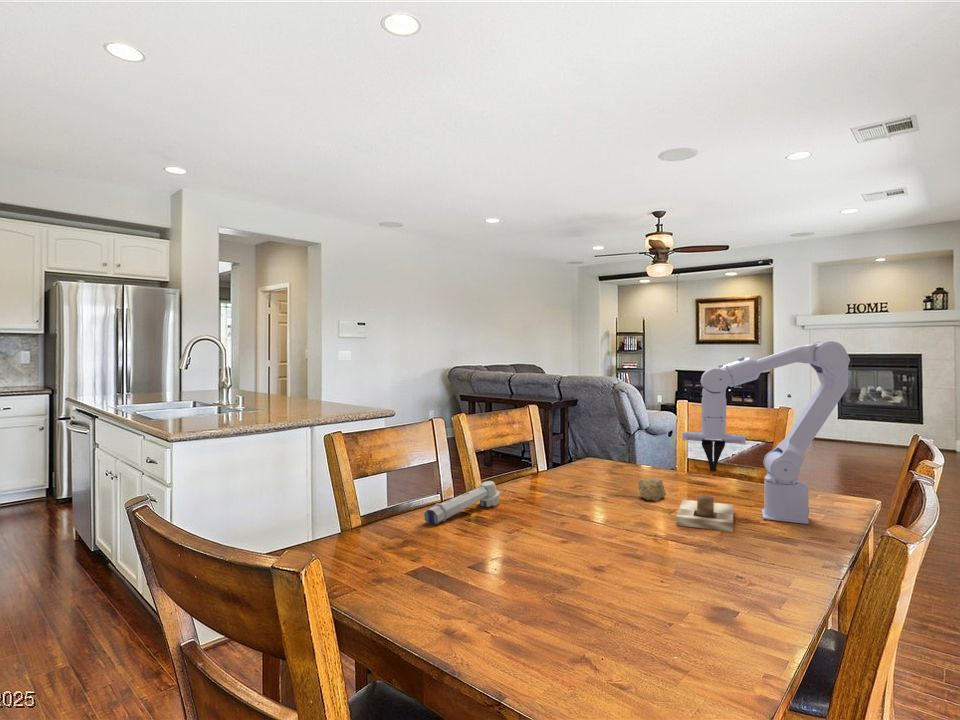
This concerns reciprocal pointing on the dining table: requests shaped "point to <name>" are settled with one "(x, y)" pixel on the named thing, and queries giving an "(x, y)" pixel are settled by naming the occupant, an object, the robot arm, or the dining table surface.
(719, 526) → the board
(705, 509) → the peg
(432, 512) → the grey mallet
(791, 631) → the dining table surface
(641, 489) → the stone tool
